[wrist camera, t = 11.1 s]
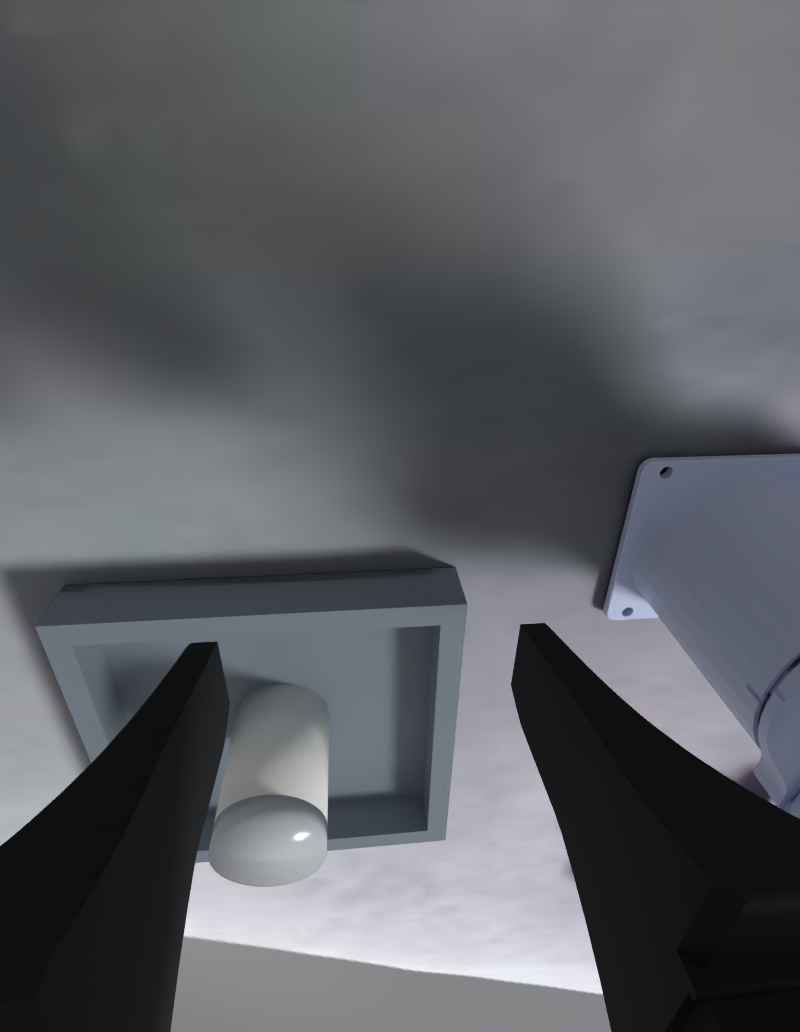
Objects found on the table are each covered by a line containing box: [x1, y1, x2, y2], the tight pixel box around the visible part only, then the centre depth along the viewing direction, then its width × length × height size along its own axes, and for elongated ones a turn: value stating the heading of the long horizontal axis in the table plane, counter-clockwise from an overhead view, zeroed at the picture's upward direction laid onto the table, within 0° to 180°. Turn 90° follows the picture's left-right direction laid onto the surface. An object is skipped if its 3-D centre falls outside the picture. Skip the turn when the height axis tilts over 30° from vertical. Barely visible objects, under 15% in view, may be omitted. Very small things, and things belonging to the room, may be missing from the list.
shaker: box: [208, 683, 329, 887], centre depth 24 cm, size 4×4×6 cm
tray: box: [35, 567, 467, 863], centre depth 26 cm, size 16×16×2 cm
